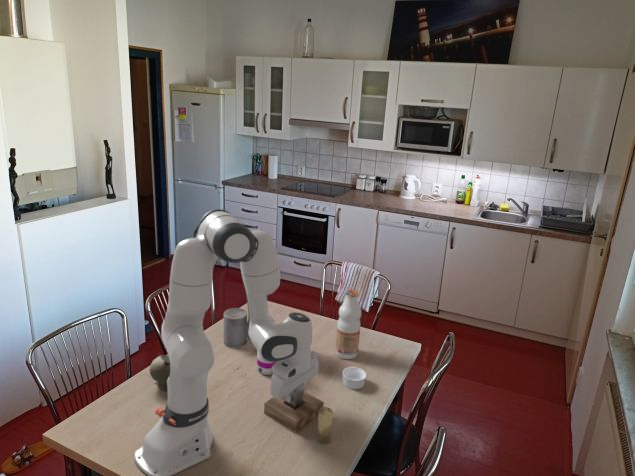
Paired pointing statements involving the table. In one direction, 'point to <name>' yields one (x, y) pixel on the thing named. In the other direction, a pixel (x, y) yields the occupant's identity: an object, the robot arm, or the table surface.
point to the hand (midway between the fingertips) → (294, 397)
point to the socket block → (293, 411)
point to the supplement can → (264, 365)
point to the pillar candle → (235, 327)
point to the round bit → (324, 425)
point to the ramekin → (354, 377)
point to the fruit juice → (348, 327)
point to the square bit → (296, 397)
